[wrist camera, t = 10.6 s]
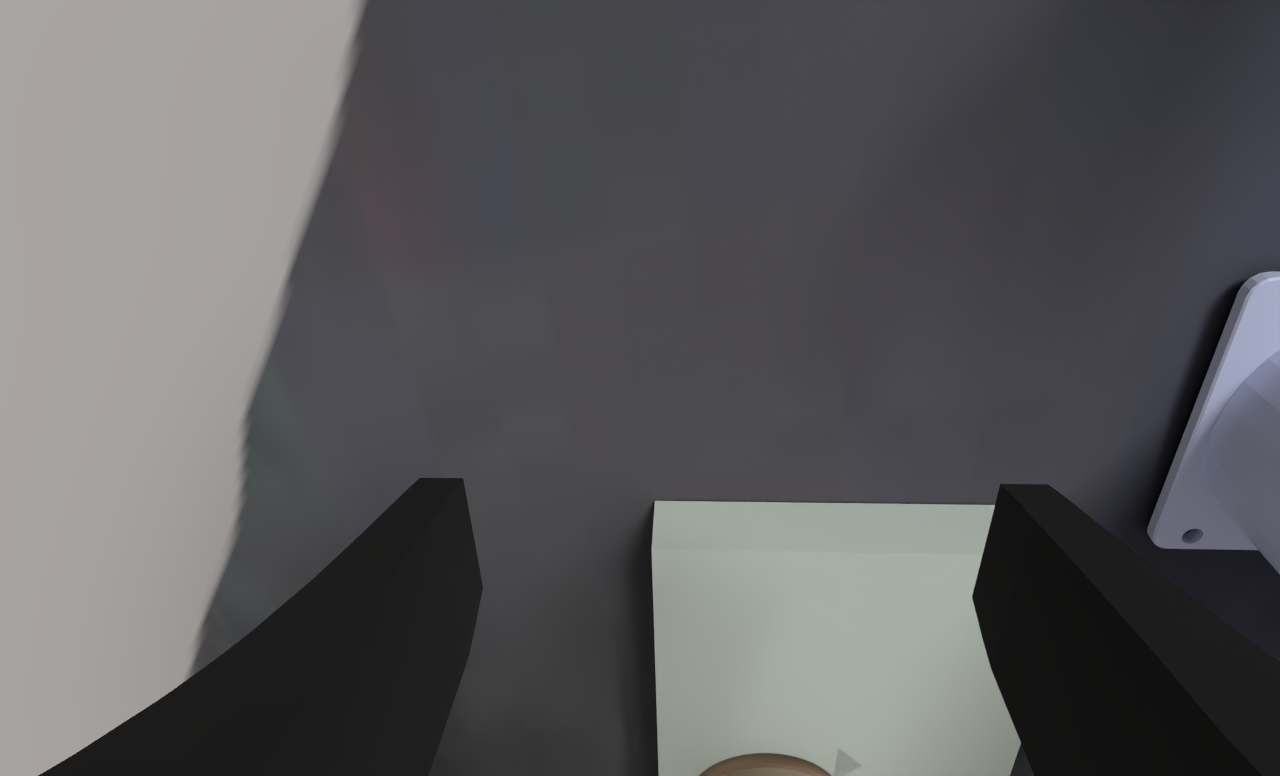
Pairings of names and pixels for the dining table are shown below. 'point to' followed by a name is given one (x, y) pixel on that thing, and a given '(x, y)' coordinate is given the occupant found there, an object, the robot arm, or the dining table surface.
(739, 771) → the peg
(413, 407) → the dining table surface
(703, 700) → the board
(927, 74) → the dining table surface
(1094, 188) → the dining table surface
